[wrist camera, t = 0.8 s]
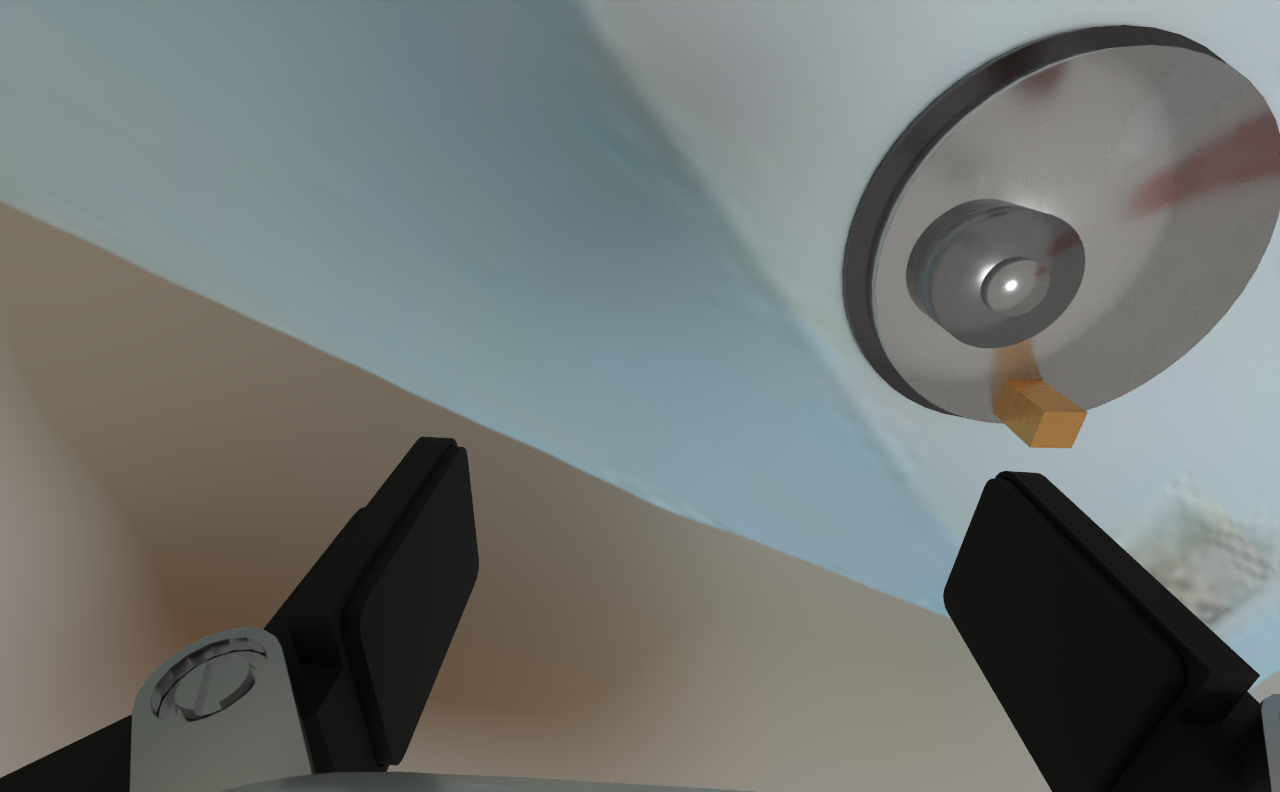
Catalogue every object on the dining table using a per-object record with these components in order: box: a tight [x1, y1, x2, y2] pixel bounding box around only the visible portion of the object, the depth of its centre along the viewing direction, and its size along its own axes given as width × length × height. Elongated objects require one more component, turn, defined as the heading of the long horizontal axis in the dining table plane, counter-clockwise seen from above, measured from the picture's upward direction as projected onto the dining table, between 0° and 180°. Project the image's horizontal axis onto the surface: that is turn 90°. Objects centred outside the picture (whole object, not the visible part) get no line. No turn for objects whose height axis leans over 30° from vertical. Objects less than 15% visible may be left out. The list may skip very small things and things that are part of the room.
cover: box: [906, 199, 1085, 349], centre depth 29 cm, size 7×7×5 cm
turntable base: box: [843, 25, 1227, 417], centre depth 34 cm, size 23×23×1 cm
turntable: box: [866, 45, 1280, 448], centre depth 30 cm, size 21×21×6 cm
